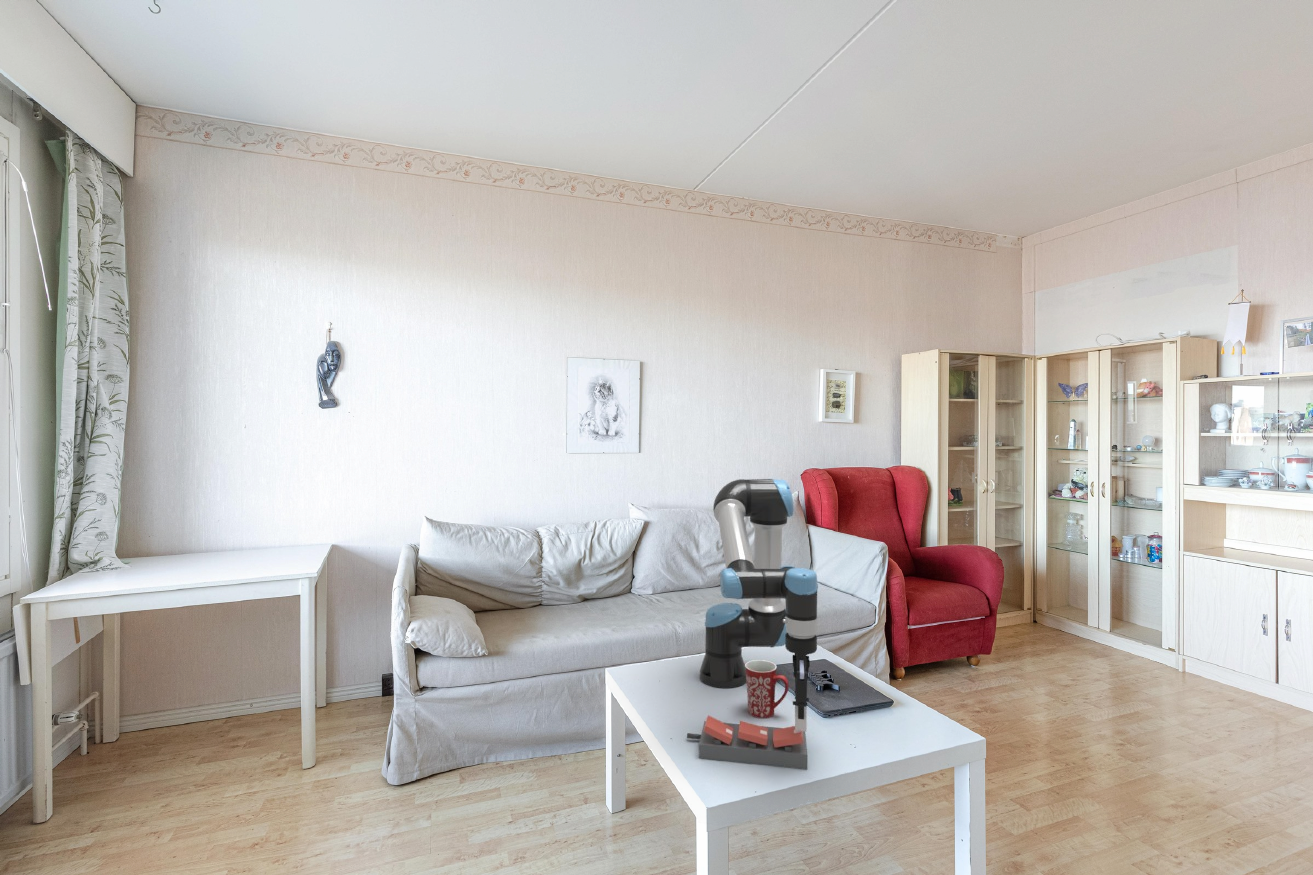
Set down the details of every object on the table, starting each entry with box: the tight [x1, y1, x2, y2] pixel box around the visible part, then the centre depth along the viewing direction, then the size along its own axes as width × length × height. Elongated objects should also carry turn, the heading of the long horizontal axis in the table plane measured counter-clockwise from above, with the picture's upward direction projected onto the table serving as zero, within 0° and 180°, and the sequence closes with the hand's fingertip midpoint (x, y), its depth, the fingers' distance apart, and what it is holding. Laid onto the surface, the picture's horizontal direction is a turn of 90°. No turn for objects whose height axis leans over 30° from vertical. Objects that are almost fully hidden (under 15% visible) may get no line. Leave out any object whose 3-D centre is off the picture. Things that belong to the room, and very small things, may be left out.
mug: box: [744, 659, 790, 719], centre depth 176 cm, size 13×9×14 cm
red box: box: [738, 720, 768, 745], centre depth 154 cm, size 6×7×2 cm
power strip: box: [686, 720, 808, 770], centre depth 157 cm, size 12×30×5 cm, turn 79°
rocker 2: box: [773, 725, 803, 747], centre depth 153 cm, size 6×7×2 cm
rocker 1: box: [703, 715, 733, 745], centre depth 156 cm, size 6×7×2 cm
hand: (800, 729), depth 152 cm, fingers closed
